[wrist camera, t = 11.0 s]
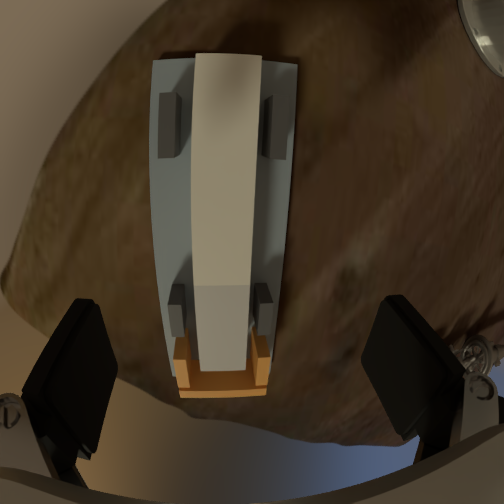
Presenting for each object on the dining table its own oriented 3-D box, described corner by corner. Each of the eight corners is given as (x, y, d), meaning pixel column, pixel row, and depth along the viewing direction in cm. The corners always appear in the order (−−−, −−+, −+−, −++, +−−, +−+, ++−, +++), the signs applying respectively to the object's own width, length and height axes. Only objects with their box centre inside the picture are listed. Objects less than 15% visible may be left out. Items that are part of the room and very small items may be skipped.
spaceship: (518, 369, 32) (544, 348, 26) (381, 414, 30) (412, 396, 24) (507, 336, 37) (530, 314, 31) (372, 362, 36) (398, 336, 30)
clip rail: (156, 63, 16) (139, 44, 12) (293, 67, 17) (316, 50, 13) (173, 369, 27) (169, 406, 23) (268, 366, 28) (276, 402, 24)
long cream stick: (199, 68, 16) (195, 53, 12) (252, 70, 16) (262, 55, 13) (201, 339, 25) (200, 371, 21) (240, 338, 25) (245, 370, 21)
